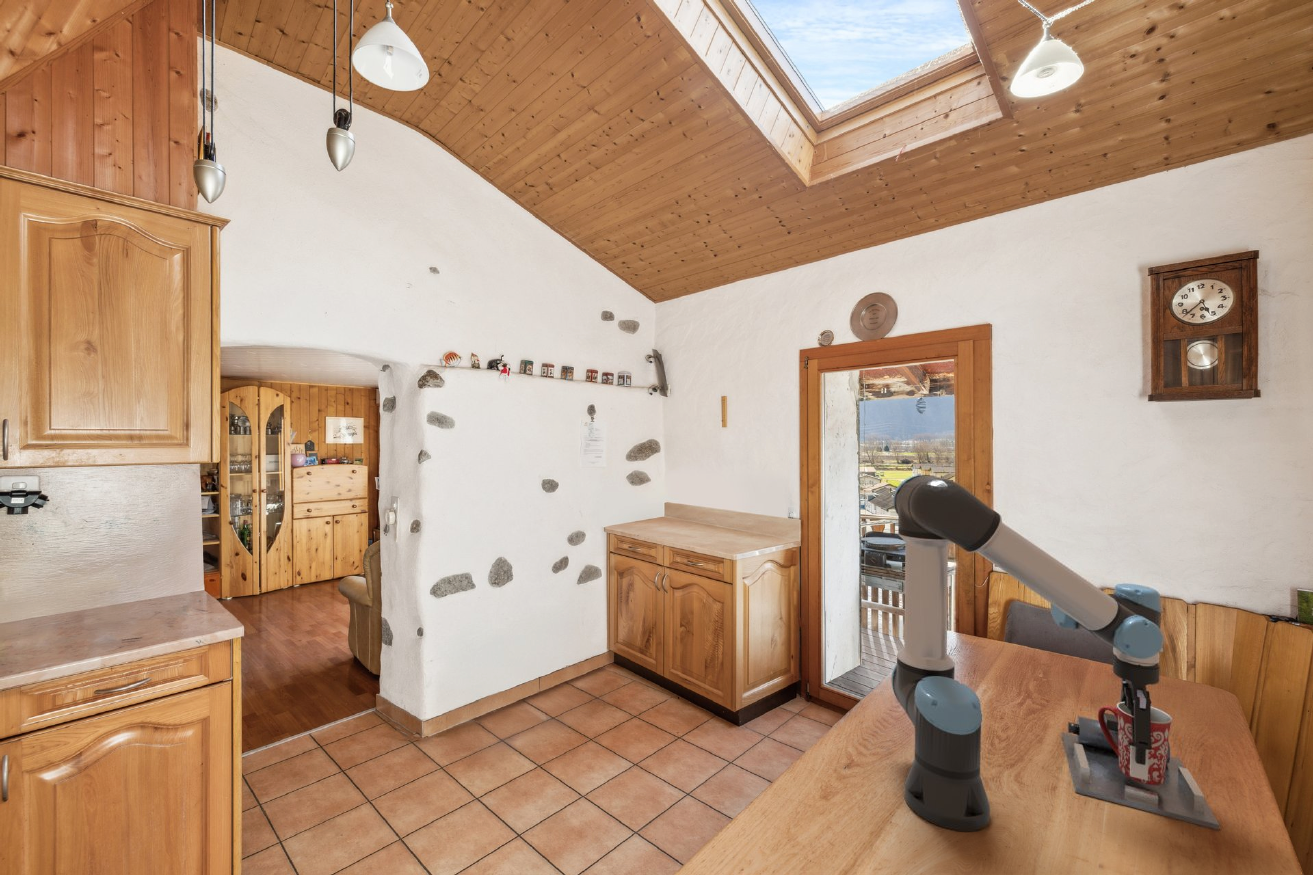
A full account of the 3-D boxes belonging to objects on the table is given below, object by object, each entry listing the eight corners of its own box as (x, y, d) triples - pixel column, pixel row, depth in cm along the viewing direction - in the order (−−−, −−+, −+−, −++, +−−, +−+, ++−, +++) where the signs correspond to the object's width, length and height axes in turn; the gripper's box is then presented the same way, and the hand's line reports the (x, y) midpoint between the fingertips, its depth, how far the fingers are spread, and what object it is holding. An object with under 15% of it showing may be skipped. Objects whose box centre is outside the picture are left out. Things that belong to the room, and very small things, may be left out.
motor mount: (1219, 830, 108) (1220, 785, 108) (1075, 792, 119) (1076, 751, 119) (1179, 762, 131) (1179, 725, 131) (1061, 736, 142) (1062, 701, 142)
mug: (1180, 782, 118) (1182, 717, 118) (1155, 792, 115) (1156, 725, 115) (1111, 750, 130) (1112, 691, 130) (1086, 759, 126) (1088, 698, 126)
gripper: (1173, 681, 110) (1171, 799, 110) (1146, 647, 129) (1144, 747, 129) (1123, 673, 114) (1121, 786, 114) (1104, 640, 132) (1102, 738, 133)
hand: (1133, 766), depth 121 cm, fingers closed on mug, 8 cm apart
